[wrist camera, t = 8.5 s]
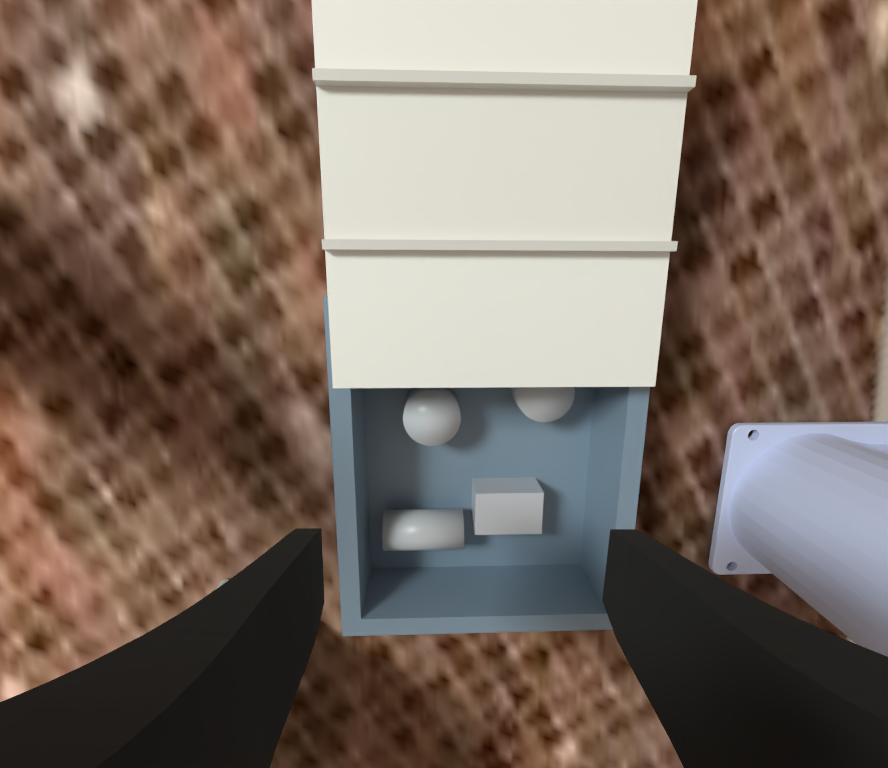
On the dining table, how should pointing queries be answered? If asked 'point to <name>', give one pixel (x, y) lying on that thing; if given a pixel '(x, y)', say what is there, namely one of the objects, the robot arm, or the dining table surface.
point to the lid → (499, 187)
